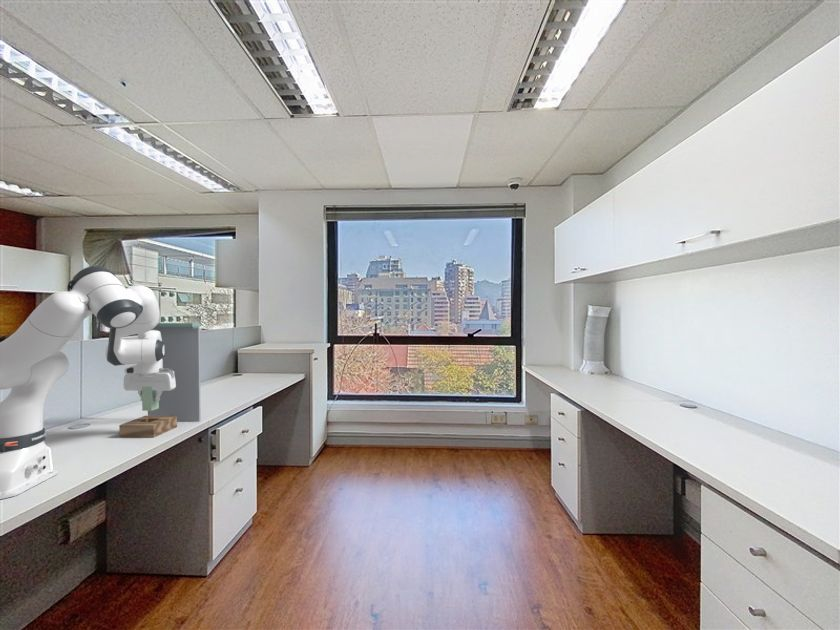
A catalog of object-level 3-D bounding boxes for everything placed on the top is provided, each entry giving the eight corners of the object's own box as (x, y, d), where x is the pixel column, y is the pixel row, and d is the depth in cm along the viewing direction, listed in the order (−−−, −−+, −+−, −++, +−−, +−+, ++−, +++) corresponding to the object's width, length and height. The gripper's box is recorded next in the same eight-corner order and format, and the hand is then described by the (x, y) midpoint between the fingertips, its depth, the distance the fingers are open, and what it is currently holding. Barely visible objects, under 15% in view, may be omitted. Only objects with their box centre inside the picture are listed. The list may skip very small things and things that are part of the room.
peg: (151, 410, 156) (151, 386, 155) (142, 410, 156) (142, 386, 156) (158, 408, 160) (158, 384, 159) (149, 408, 160) (149, 384, 160)
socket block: (153, 437, 151) (153, 425, 150) (119, 437, 151) (119, 425, 151) (176, 426, 165) (176, 415, 164) (145, 426, 165) (145, 415, 165)
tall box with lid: (193, 424, 168) (192, 323, 168) (140, 424, 168) (139, 323, 168) (200, 420, 173) (199, 322, 173) (149, 420, 174) (148, 323, 173)
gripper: (179, 367, 160) (179, 399, 160) (132, 367, 161) (133, 399, 161) (168, 369, 154) (169, 402, 154) (120, 369, 155) (120, 402, 155)
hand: (150, 400), depth 157 cm, fingers closed on peg, 4 cm apart
